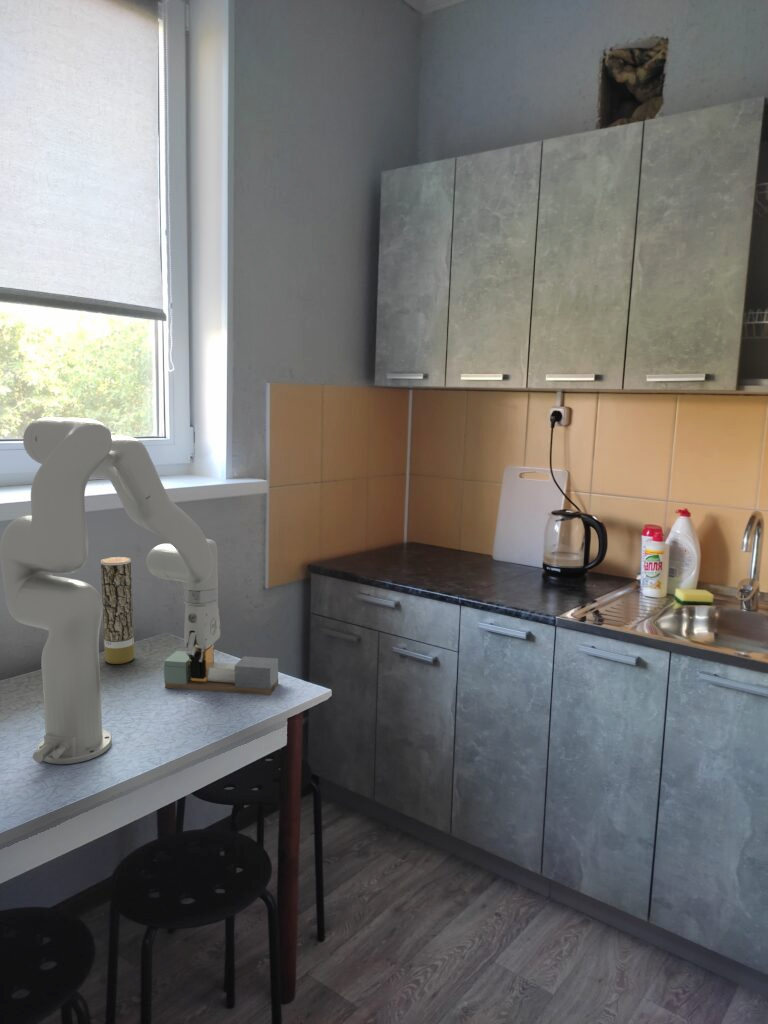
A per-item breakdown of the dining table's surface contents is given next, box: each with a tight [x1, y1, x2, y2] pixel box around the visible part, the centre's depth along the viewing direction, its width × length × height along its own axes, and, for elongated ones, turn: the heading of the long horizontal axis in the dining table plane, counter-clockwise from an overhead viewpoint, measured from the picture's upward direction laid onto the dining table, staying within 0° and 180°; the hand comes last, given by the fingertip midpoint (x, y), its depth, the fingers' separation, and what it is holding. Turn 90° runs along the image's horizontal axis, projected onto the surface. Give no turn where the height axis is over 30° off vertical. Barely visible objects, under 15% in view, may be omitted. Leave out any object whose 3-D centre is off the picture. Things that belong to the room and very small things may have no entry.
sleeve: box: [235, 655, 279, 689], centre depth 163 cm, size 6×8×5 cm
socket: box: [163, 650, 190, 684], centre depth 165 cm, size 7×5×5 cm
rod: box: [188, 645, 237, 683], centre depth 164 cm, size 4×15×7 cm, turn 82°
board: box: [164, 679, 279, 696], centre depth 164 cm, size 7×24×1 cm, turn 82°
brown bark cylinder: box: [100, 556, 135, 665], centre depth 177 cm, size 7×7×25 cm
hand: (202, 672), depth 164 cm, fingers closed on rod, 4 cm apart
